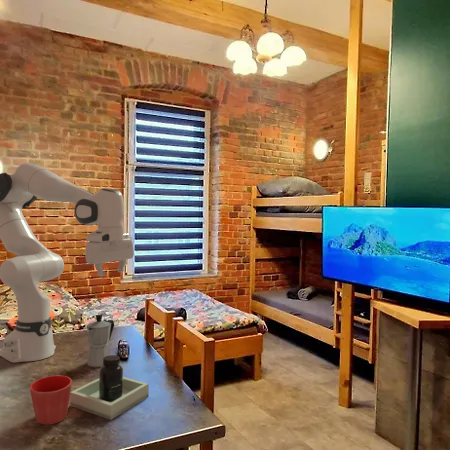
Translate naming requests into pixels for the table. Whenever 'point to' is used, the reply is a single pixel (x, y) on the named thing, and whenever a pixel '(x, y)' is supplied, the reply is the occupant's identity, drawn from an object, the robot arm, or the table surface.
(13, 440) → the table surface
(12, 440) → the table surface
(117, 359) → the supplement bottle
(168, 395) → the table surface
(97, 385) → the tray
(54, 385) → the flower pot
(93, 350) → the coffee maker
